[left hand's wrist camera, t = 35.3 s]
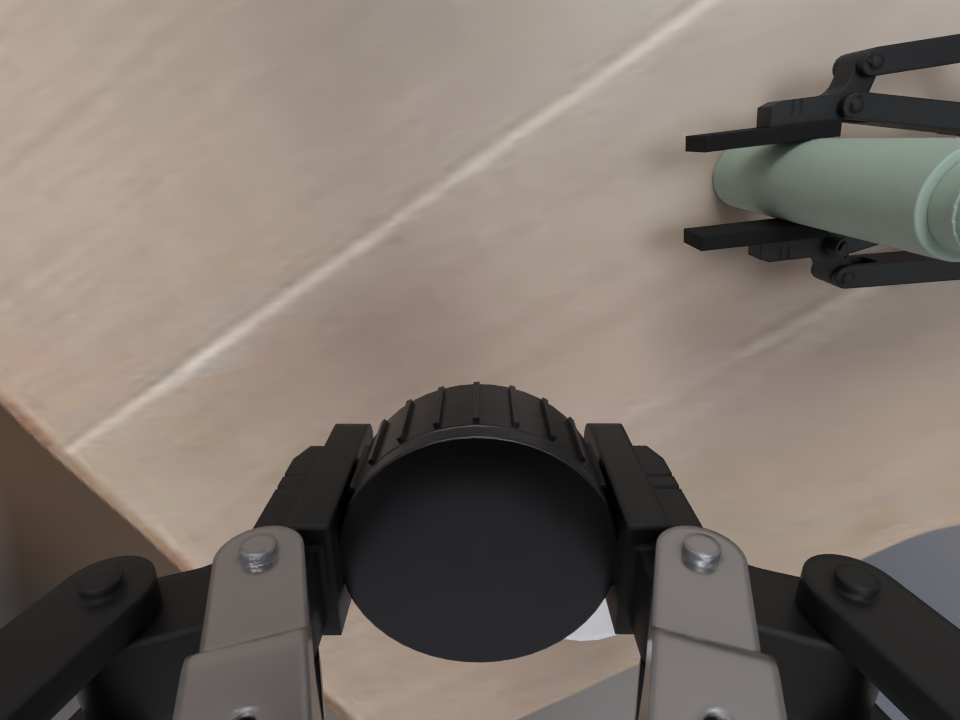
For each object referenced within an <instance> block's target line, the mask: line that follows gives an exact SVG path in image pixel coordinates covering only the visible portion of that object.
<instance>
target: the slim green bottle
mask: <svg viewBox="0 0 960 720" xmlns="http://www.w3.org/2000/svg"><path fill="white" fill-rule="evenodd" d="M713 184H714V188H715V191H716V193H717V195H718V197H719V198H720V199H721V200H722V201H723V202H724V203H726V204H727V205H729V206H732V207H736V208H740V209H744V210H747V211H751V212H755V213H759V214H763V215H767V216H771V217H775V218H779V219H783V220H787V221H791V222H794V223H798V224H802V225H806V226H810V227H814V228H818V229H822V230H826V231H830V232H834V233H838V234H841V235H845V236H849V237H853V238H857V239H861V240H865V241H869V242H873V243H877V244H881V245H884V246H888V247H892V248H896V249H900V250H904V251H908V252H912V253H916V254H920V255H924V256H928V257H931V258H935V259H939V260H943V261H949V262H960V137H944V138H821V139H813V140H805V141H796V142H788V143H779V144H771V145H762V146H754V147H745V148H737V149H728V150H725V152H724V153H723V154H722V155H721V157H720V158H719V160H718V162H717V164H716V166H715V169H714V174H713Z"/></svg>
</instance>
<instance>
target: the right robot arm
mask: <svg viewBox="0 0 960 720" xmlns="http://www.w3.org/2000/svg"><path fill="white" fill-rule="evenodd" d="M955 63H960V34H957V35H950V36H944V37H938V38H931V39H925V40H919V41H912V42H906V43H900V44H893V45H887V46H881V47H875V48H871V49H866V50H862V51H858V52H853V53H849V54H845V55H843V56H840V57H839V58H838V59H837V60H836V61H835V63H834V65H833V69H832V71H833V75H834V77H833V80H832V82H831V84H830V86H829V88H828V89H827V90H826V91H825V92H824V93H823V94H821V95H819V96H816V97H808V98H800V99H792V100H784V101H776V102H768V103H766V104H764V105H762V106H760V107H759V108H758V111H757V127H756V128H750V129H742V130H733V131H725V132H717V133H708V134H700V135H691V136H686V151H690V152H712V151H720V150H728V149H737V148H745V147H754V146H762V145H771V144H779V143H788V142H796V141H805V140H813V139H821V138H830V137H838V136H840V134H841V125H842V123H851V124H860V125H870V126H879V127H888V128H897V129H907V130H916V131H925V132H935V133H937V134H945V135H955V136H960V102H951V101H942V100H933V99H924V98H915V97H906V96H897V95H887V94H878V93H869V91H870V88H871V86H872V84H873V82H874V79H875V77H876V76H877V75H884V74H890V73H897V72H903V71H910V70H916V69H922V68H929V67H935V66H942V65H948V64H955ZM684 242H685V243H686V244H688V245H690V246H692V247H694V248H696V249H698V250H700V251H706V250H715V249H724V248H733V247H742V246H749V250H748V254H749V255H751V256H753V257H756V258H758V259H760V260H764V261H767V262H774V261H783V260H792V259H801V258H810V257H811V259H812V262H813V265H812V268H811V273H812V275H813V276H814V277H816V278H818V279H820V280H823V281H825V282H828V283H830V284H832V285H835V286H837V287H840V288H844V289H848V288H860V287H873V286H886V285H898V284H911V283H924V282H936V281H949V280H960V262H949V261H943V260H939V259H935V258H931V257H928V256H924V255H920V254H916V253H912V252H908V251H899V252H886V253H874V254H862V255H849V254H850V253H853V252H856V251H859V250H863V249H866V248H869V247H872V246H875V245H879V244H877V243H873V242H869V241H865V240H861V239H857V238H853V237H849V236H845V235H841V234H838V233H834V232H830V231H826V230H822V229H818V228H814V227H810V226H806V225H802V224H798V223H794V222H791V221H787V220H783V219H779V218H774V219H765V220H756V221H747V222H739V223H730V224H721V225H712V226H703V227H695V228H686V229H684Z"/></svg>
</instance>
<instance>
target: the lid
mask: <svg viewBox="0 0 960 720" xmlns="http://www.w3.org/2000/svg"><path fill="white" fill-rule="evenodd" d="M606 488H607V486H606V483H605V480H604V477H603V475H602V472H601V469H600V466H599V464H598V461H597V458H596V456H595V453H594V450H593V447H592V445H591V443H590V442H587V443H586V442H585V440H584V439H583V437H582V436H581V434H580V433H579V431H578V430H577V429H576V426H575V423H574V420H573V419H572V418H571V417H569V418H568V419H567V418H566V417H565V416H564V415H563V414H562V413H560V412H559V411H558V410H557V409H555V408H554V407H553V406H551V405H550V404H548V400H547V399H545V398H542V399H539V398H537V397H535V396H532V395H530V394H528V393H525V392H523V391H519V390H516V389H515V386H511V385H510V386H509V387H503V386H497V385H486V384H480V382H474V384H471V385H459V386H454V387H449V388H444V386H442V387H439V388H438V391H435V392H432V393H429V394H426V395H424V396H422V397H420V398H418V399H416V400H414V401H412V400H411V399H410V400H408V401H407V402H406V405H405V406H404V407H403V408H401V409H400V410H399V411H398V412H396V413H395V414H394V415H393V416H392V417H391V418H390V419H388V420H385V419H384V420H383V421H382V422H381V424H380V427H379V430H378V433H377V434H376V436H375V437H374V439H373V440H372V442H371V444H370V446H369V445H367V444H366V445H365V447H364V449H363V452H362V454H361V457H360V460H359V462H358V465H357V468H356V470H355V473H354V476H353V478H352V481H351V484H350V486H349V489H348V491H350V492H352V494H351V496H350V499H349V502H348V505H347V507H346V510H345V513H344V516H343V519H342V523H341V526H340V530H339V544H340V554H341V563H342V571H343V579H344V583H345V585H346V588H347V590H348V592H349V594H350V596H351V597H352V599H353V601H354V603H355V604H356V605H357V607H358V608H359V609H360V610H361V612H362V613H363V614H364V616H365V617H366V618H368V619H369V620H370V621H371V622H372V623H373V624H374V625H375V626H376V627H377V628H378V629H380V630H381V631H382V632H384V633H385V634H386V635H387V636H389V637H391V638H392V639H394V640H396V641H397V642H399V643H401V644H403V645H405V646H407V647H409V648H411V649H414V650H416V651H418V652H421V653H424V654H427V655H430V656H434V657H438V658H443V659H447V660H454V661H462V662H495V661H503V660H509V659H515V658H519V657H522V656H526V655H530V654H533V653H535V652H538V651H541V650H543V649H546V648H548V647H550V646H552V645H554V644H556V643H558V642H560V641H561V640H563V639H564V638H566V637H567V636H569V635H570V634H572V633H573V632H575V631H576V630H577V629H578V628H579V627H581V626H582V625H583V624H584V623H585V622H586V621H587V620H588V619H589V618H590V617H591V616H592V615H593V614H594V613H595V612H596V610H597V609H598V607H599V606H600V605H601V603H602V602H603V600H604V599H605V597H606V595H607V593H608V591H609V589H610V587H611V585H612V582H613V576H614V568H615V558H616V549H617V538H618V535H617V528H616V524H615V521H614V518H613V515H612V512H611V509H610V506H609V503H608V501H607V498H606V495H605V492H604V489H606Z"/></svg>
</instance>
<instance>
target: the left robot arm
mask: <svg viewBox="0 0 960 720" xmlns="http://www.w3.org/2000/svg"><path fill="white" fill-rule="evenodd" d="M372 440H373V430H372V426H371V424H336V425H335V426H334V428H333V430H332V432H331V434H330V436H329V438H328V440H327V442H326V444H325V446H310V447H309V448H308V449H306V450H305V451H304V452H302V453H301V454H300V455H298V456H297V457H296V458H294V459H293V461H292V462H291V464H290V466H289V468H288V469H287V471H286V473H285V477H283V478H282V480H281V481H280V483H279V485H278V489H277V490H275V492H274V493H273V495H272V497H271V499H270V500H269V502H268V504H267V505H266V507H265V509H264V511H263V512H262V514H261V516H260V517H259V519H258V521H257V523H256V524H255V526H254V528H253V529H251V530H248V531H245V532H243V533H241V534H239V535H237V536H235V537H233V538H232V539H230V540H229V541H228V542H226V543H225V544H224V545H223V546H222V547H221V548H220V549H219V550H218V552H217V553H216V555H215V557H214V560H213V564H211V565H208V566H205V567H202V568H198V569H195V570H190V571H186V572H181V573H177V574H172V575H168V576H163V577H159V578H158V577H157V574H156V570H155V567H154V565H153V564H152V562H151V561H149V560H148V559H146V558H143V557H139V556H119V557H114V558H109V559H106V560H102V561H99V562H96V563H94V564H91V565H89V566H87V567H85V568H83V569H81V570H79V571H78V572H76V573H74V574H73V575H71V576H70V577H68V578H67V579H66V580H64V581H63V582H62V583H60V584H59V585H58V586H56V587H55V588H54V589H52V590H51V591H50V592H48V593H47V594H46V595H45V596H43V597H42V598H41V599H39V600H38V601H37V602H35V603H34V604H33V605H31V606H30V607H29V608H28V609H26V610H25V611H24V612H22V613H21V614H20V615H18V616H17V617H16V618H14V619H13V620H12V621H10V622H9V623H8V624H7V625H5V626H4V627H3V628H1V629H0V720H51V719H52V718H53V717H54V716H55V715H56V714H57V713H58V712H59V711H60V710H61V709H62V708H63V707H64V706H65V705H66V704H67V703H68V702H69V701H70V700H71V699H72V698H73V697H74V696H75V695H77V698H78V701H79V703H80V706H81V707H80V709H78V710H77V711H76V712H75V713H74V714H73V716H72V717H71V718H70V719H69V720H326V718H325V706H324V694H323V682H322V670H321V661H320V654H319V644H320V641H321V638H322V635H341V634H342V631H343V627H344V623H345V620H346V616H347V613H348V609H349V605H350V602H351V598H352V597H351V596H350V594H349V592H348V590H347V588H346V585H345V583H344V579H343V571H342V563H341V554H340V544H339V530H340V526H341V523H342V519H343V516H344V513H345V510H346V507H347V505H348V502H349V499H350V496H351V494H352V492H350V491H348V489H349V486H350V484H351V481H352V478H353V476H354V473H355V470H356V468H357V465H358V462H359V460H360V457H361V454H362V452H363V449H364V447H365V445H366V444H367V445H369V446H370V444H371V442H372ZM584 440H585V442H586V443H587V442H590V443H591V445H592V447H593V450H594V453H595V456H596V458H597V461H598V464H599V466H600V469H601V472H602V475H603V477H604V480H605V483H606V486H607V488H606V489H604V492H605V495H606V498H607V501H608V503H609V506H610V509H611V512H612V515H613V518H614V521H615V524H616V528H617V535H618V538H617V549H616V558H615V568H614V576H613V582H612V585H611V587H610V589H609V591H608V593H607V595H606V597H605V599H606V602H607V606H608V610H609V614H610V617H611V621H612V625H613V628H614V632H615V634H634V636H635V640H636V643H637V646H638V649H639V652H640V661H639V670H638V682H637V694H636V706H635V718H634V720H891V719H890V718H889V717H888V716H887V715H886V714H885V713H884V711H883V710H882V709H880V707H879V706H878V705H877V704H876V703H875V701H876V699H877V696H878V693H879V690H880V691H881V692H882V693H883V694H884V695H885V696H886V697H887V698H888V699H889V700H890V701H891V702H892V703H893V704H894V705H895V706H896V707H897V708H898V709H899V710H900V711H901V712H902V713H903V714H904V715H905V716H906V717H907V718H908V719H909V720H960V629H959V628H957V627H956V626H955V625H953V624H952V623H951V622H950V621H948V620H947V619H946V618H944V617H943V616H942V615H940V614H939V613H938V612H936V611H935V610H934V609H932V608H931V607H930V606H928V605H927V604H926V603H925V602H923V601H922V600H921V599H919V598H918V597H917V596H915V595H914V594H913V593H911V592H910V591H909V590H908V589H906V588H905V587H904V586H902V585H901V584H900V583H898V582H897V581H896V580H894V579H893V578H892V577H890V576H889V575H887V574H886V573H885V572H883V571H881V570H880V569H878V568H876V567H874V566H872V565H870V564H868V563H866V562H863V561H860V560H858V559H855V558H851V557H847V556H842V555H835V554H822V555H816V556H813V557H811V558H809V559H808V560H807V561H806V562H805V563H804V566H803V569H802V572H801V576H800V577H796V576H792V575H787V574H783V573H778V572H774V571H769V570H765V569H761V568H757V567H753V566H750V565H748V564H747V560H746V557H745V555H744V553H743V552H742V550H741V549H740V548H739V547H738V546H737V545H736V544H735V543H734V542H732V541H731V540H730V539H728V538H727V537H725V536H723V535H721V534H719V533H717V532H715V531H712V530H709V529H706V528H703V527H702V525H701V523H700V522H699V520H698V518H697V516H696V515H695V513H694V511H693V509H692V508H691V506H690V504H689V502H688V501H687V499H686V497H685V495H684V494H683V492H682V490H681V489H679V485H678V483H677V481H676V480H675V478H674V476H672V473H671V471H670V469H669V468H668V466H667V464H666V462H665V461H664V459H663V458H662V457H661V456H659V455H658V454H657V453H655V452H654V451H653V450H651V449H650V448H649V447H647V446H632V444H631V442H630V440H629V438H628V436H627V434H626V432H625V430H624V428H623V426H622V424H620V423H587V424H586V427H585V431H584Z"/></svg>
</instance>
